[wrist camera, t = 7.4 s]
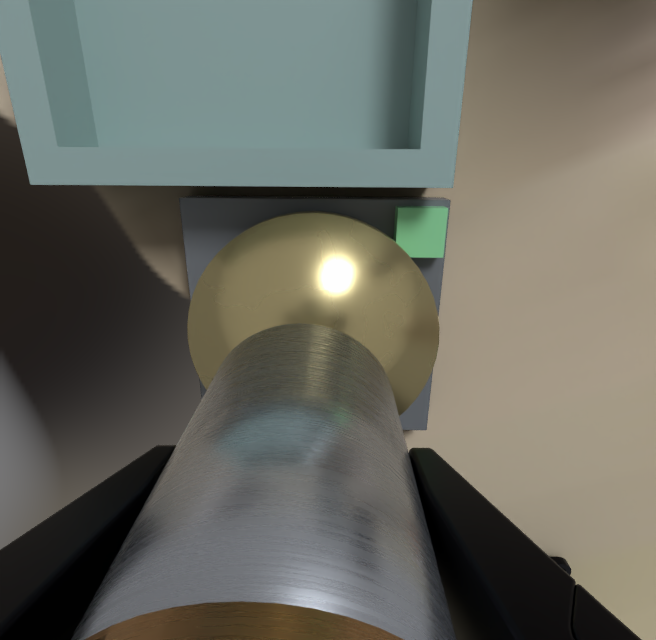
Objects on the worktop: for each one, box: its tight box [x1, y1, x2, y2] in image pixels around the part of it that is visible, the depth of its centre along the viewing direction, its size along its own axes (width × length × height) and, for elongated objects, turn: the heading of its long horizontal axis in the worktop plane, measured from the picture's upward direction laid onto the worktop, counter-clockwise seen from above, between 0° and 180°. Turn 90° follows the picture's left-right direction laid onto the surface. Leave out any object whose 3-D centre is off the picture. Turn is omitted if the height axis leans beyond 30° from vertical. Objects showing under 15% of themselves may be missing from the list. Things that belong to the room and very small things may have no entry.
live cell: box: [70, 323, 457, 640], centre depth 6 cm, size 4×4×9 cm
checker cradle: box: [179, 196, 450, 430], centre depth 16 cm, size 9×9×2 cm
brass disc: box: [187, 211, 439, 416], centre depth 15 cm, size 8×8×1 cm
